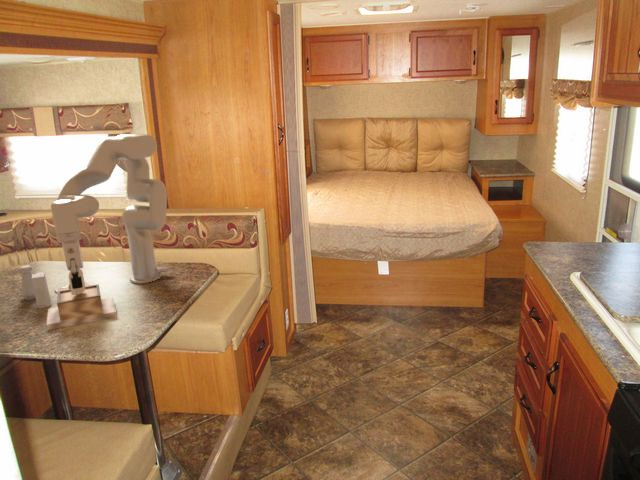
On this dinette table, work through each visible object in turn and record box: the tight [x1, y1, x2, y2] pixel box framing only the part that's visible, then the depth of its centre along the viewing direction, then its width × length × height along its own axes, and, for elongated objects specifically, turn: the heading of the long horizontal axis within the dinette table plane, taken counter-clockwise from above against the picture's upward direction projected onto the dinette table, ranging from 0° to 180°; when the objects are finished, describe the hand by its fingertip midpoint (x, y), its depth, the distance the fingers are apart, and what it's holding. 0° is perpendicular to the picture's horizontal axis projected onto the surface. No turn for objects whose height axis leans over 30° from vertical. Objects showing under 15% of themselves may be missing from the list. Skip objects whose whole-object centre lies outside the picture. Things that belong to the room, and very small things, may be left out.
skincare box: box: [31, 271, 52, 309], centre depth 193 cm, size 6×4×12 cm
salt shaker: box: [18, 264, 36, 301], centre depth 199 cm, size 6×6×13 cm
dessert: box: [53, 280, 91, 294], centre depth 207 cm, size 12×12×5 cm
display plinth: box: [46, 283, 118, 331], centre depth 183 cm, size 22×14×9 cm, turn 115°
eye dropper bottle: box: [68, 267, 85, 295], centre depth 180 cm, size 4×6×12 cm
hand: (77, 284), depth 181 cm, fingers closed on eye dropper bottle, 5 cm apart
